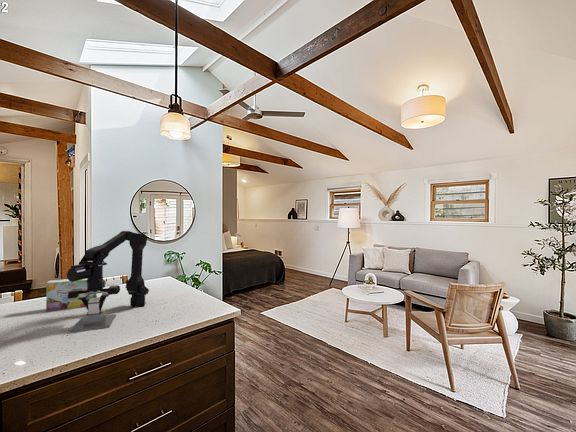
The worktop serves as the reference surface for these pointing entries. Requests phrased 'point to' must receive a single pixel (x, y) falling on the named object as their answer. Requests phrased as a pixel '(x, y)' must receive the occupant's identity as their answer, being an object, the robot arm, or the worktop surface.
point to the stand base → (94, 322)
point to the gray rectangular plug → (94, 306)
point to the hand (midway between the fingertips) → (95, 310)
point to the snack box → (64, 294)
